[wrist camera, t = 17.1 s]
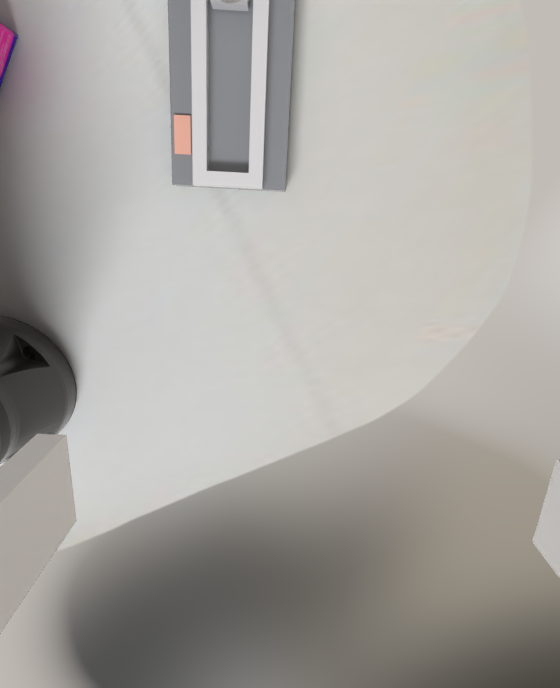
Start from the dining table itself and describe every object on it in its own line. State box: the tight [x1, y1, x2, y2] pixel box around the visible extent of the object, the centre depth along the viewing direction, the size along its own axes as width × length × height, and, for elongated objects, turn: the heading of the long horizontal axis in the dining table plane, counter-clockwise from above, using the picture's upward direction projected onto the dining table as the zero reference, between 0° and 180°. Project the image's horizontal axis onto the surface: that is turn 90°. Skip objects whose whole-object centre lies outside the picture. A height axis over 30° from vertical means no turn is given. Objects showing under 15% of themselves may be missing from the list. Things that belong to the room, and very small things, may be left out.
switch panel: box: [168, 0, 295, 192], centre depth 34 cm, size 20×10×3 cm, turn 177°
